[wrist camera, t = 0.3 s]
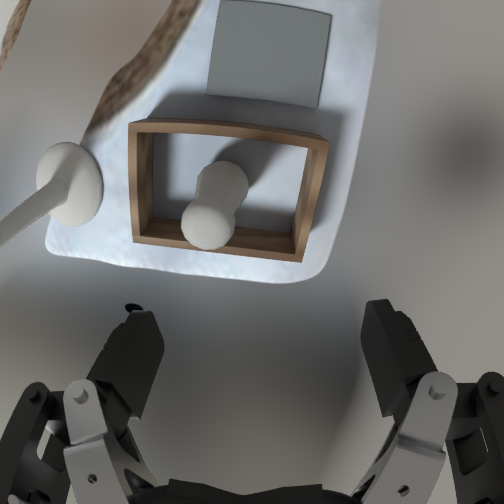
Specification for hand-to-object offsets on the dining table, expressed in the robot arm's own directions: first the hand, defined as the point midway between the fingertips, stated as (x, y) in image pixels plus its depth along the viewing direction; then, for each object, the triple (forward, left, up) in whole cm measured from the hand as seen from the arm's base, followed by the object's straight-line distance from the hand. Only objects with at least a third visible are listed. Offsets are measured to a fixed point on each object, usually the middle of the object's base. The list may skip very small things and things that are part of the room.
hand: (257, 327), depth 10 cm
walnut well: (+2, -4, -24) cm, 25 cm away
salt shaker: (+2, -4, -25) cm, 25 cm away
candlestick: (+4, -27, -25) cm, 36 cm away
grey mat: (-14, -1, -24) cm, 28 cm away
